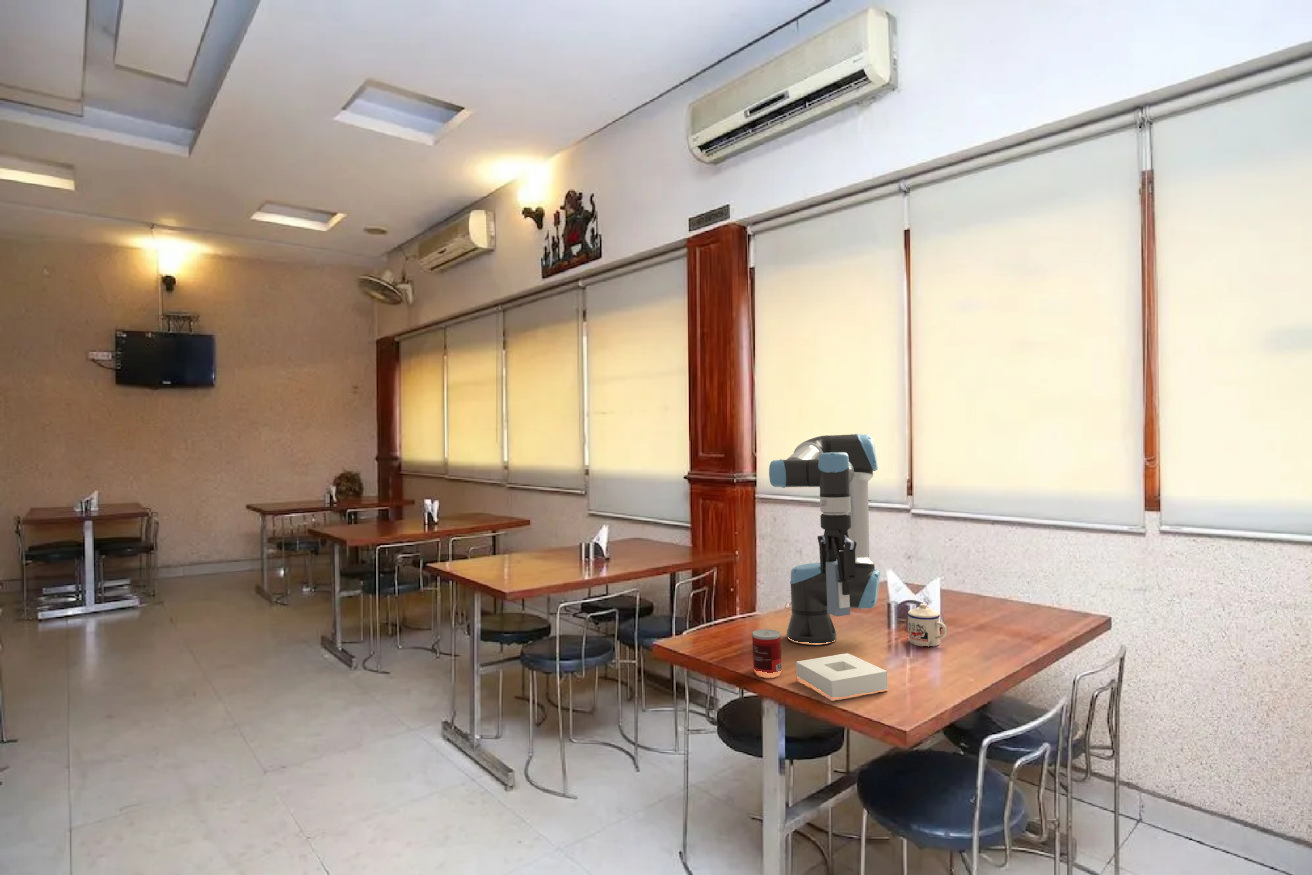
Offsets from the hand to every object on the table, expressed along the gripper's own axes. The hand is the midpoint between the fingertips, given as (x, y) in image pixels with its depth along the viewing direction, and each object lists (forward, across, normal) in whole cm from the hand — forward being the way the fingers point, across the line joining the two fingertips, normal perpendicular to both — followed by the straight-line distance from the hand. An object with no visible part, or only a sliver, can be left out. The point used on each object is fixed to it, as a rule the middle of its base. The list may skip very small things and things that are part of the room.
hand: (838, 605), depth 175 cm
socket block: (+21, 0, 0) cm, 21 cm away
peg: (+2, 0, 0) cm, 2 cm away
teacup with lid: (+21, -18, +44) cm, 52 cm away
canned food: (+21, -16, -12) cm, 29 cm away
